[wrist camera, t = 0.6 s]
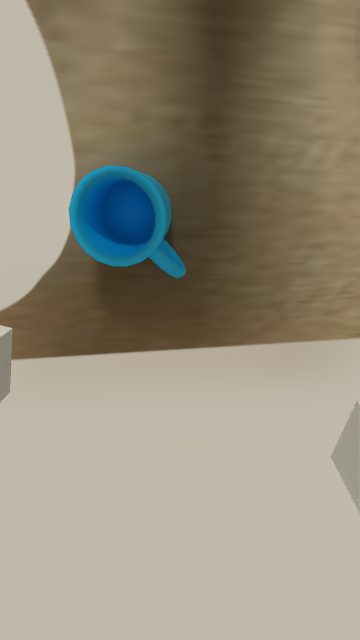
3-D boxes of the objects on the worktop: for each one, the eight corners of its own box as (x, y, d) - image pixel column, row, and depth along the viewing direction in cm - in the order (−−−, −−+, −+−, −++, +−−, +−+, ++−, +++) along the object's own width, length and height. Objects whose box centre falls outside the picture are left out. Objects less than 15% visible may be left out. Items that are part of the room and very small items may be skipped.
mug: (79, 211, 37) (49, 216, 29) (132, 152, 34) (114, 141, 27) (158, 291, 39) (150, 315, 32) (212, 241, 37) (217, 254, 30)
